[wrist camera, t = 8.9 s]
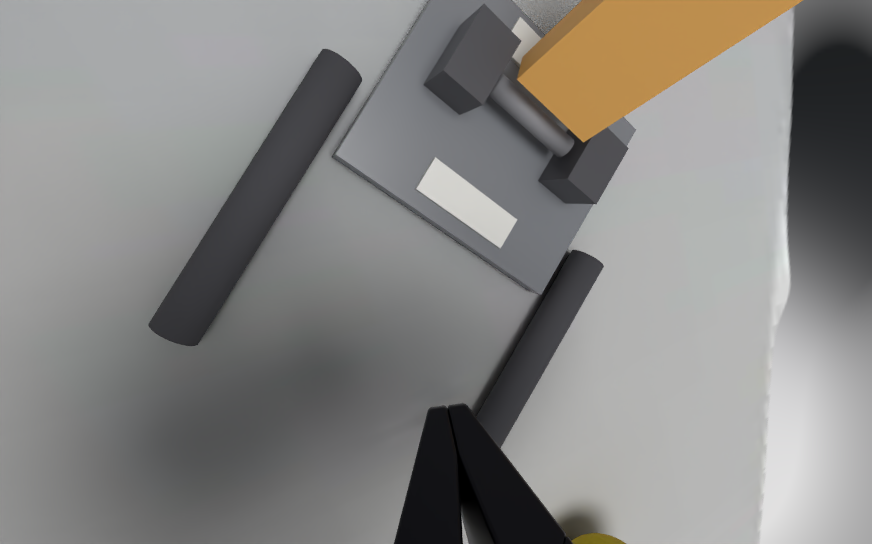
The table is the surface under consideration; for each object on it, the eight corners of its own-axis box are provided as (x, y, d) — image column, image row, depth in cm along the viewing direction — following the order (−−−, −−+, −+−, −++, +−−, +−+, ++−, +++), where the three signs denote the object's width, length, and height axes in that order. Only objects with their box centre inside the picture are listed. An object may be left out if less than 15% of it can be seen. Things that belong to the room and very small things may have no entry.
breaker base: (529, 290, 23) (569, 304, 20) (332, 156, 18) (345, 148, 15) (621, 132, 23) (673, 123, 20) (453, -39, 18) (488, -84, 15)
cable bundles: (477, 454, 23) (494, 474, 21) (155, 316, 16) (142, 329, 15) (586, 264, 24) (610, 269, 22) (318, 57, 17) (324, 42, 15)
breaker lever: (554, 165, 19) (989, -112, 10) (483, 103, 18) (928, -309, 8) (557, 142, 20) (961, -134, 11) (490, 80, 18) (900, -316, 9)
